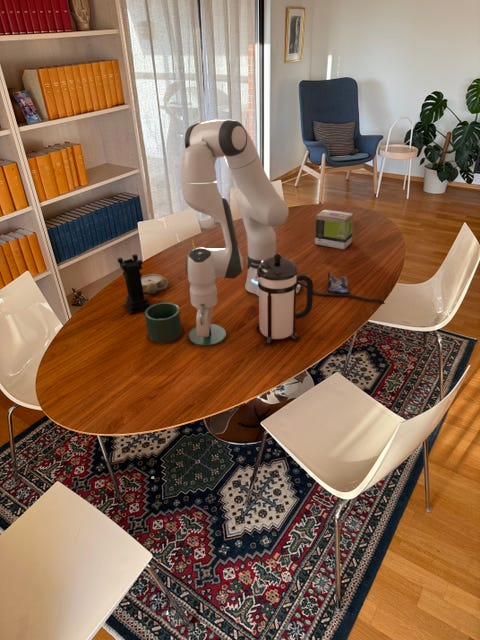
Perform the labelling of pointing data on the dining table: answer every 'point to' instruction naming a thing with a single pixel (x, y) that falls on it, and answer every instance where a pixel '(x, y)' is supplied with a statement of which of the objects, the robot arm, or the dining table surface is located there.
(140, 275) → the chess piece
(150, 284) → the alarm clock
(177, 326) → the green hollow cylinder
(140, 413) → the dining table surface
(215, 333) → the lid
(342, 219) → the tea box
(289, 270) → the coffee press
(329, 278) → the snack package
